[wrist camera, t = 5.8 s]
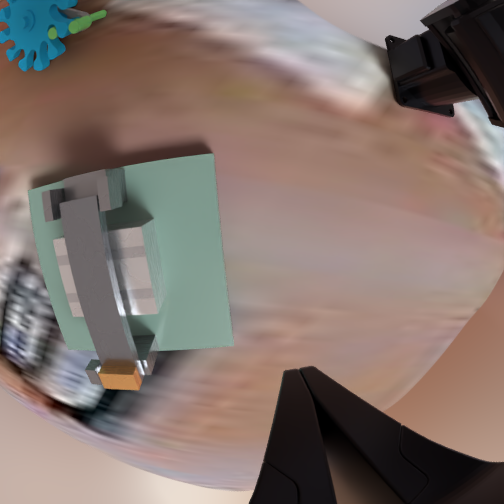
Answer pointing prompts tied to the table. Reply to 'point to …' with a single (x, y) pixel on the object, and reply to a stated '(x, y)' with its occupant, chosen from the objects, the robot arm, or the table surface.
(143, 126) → the table surface
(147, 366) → the post
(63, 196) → the post
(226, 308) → the board
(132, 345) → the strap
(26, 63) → the gear
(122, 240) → the heatsink
